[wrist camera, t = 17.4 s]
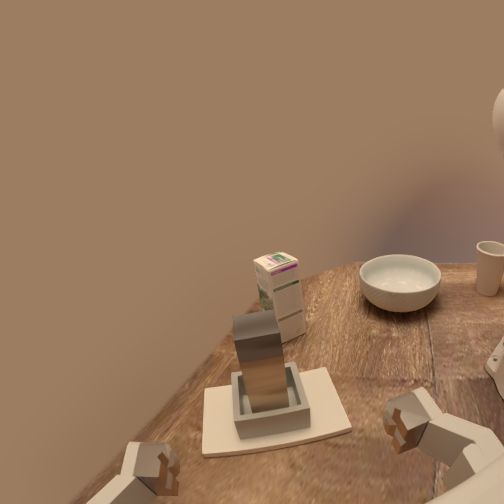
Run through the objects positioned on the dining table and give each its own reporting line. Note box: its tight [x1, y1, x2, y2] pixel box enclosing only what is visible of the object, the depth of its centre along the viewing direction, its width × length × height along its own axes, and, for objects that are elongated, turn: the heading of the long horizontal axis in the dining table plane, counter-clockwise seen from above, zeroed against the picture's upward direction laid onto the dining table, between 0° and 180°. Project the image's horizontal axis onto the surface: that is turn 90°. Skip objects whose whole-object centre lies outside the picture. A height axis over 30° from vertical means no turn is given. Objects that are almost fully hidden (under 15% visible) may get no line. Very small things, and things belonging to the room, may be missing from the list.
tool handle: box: [233, 310, 290, 414], centre depth 32 cm, size 4×4×14 cm
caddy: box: [202, 362, 352, 458], centre depth 34 cm, size 12×18×5 cm, turn 95°
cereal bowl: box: [359, 255, 441, 312], centre depth 53 cm, size 17×17×7 cm
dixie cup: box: [476, 241, 504, 296], centre depth 47 cm, size 8×8×10 cm
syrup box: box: [254, 251, 306, 343], centre depth 50 cm, size 6×6×14 cm
